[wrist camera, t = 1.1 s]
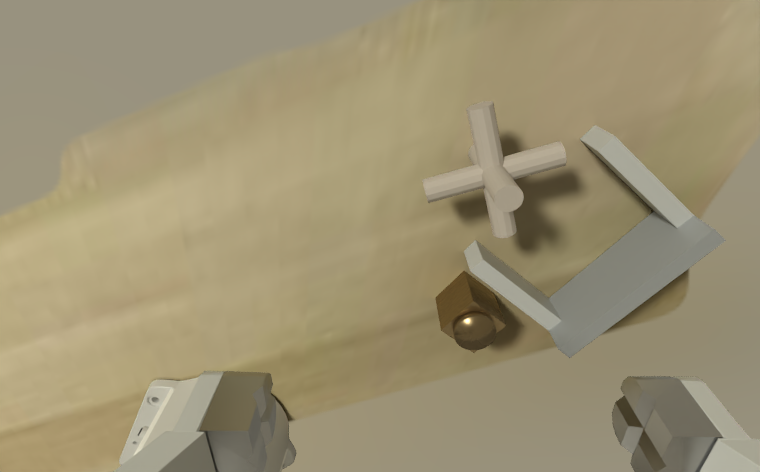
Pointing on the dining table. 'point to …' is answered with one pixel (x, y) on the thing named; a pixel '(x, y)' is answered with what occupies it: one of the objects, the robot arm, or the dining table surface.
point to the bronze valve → (469, 313)
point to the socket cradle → (609, 259)
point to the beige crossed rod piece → (494, 170)
